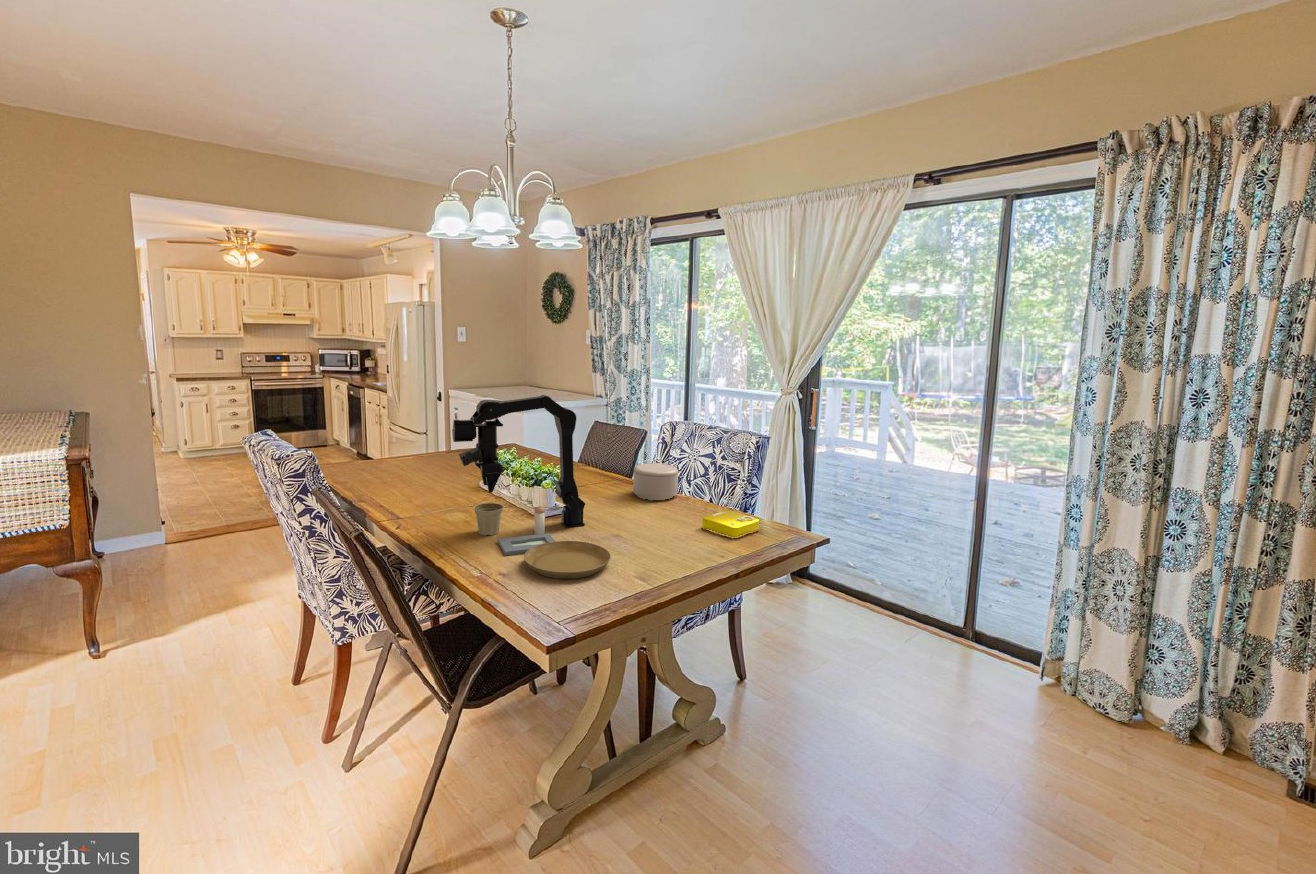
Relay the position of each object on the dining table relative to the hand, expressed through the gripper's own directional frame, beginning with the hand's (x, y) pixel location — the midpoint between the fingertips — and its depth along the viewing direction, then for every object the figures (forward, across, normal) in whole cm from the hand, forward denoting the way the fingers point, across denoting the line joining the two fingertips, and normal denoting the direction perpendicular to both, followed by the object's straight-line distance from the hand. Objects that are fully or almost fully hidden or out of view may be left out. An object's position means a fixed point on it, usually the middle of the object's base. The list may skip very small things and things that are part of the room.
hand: (488, 488), depth 197 cm
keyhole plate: (+15, +16, +9) cm, 23 cm away
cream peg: (+15, +6, +15) cm, 22 cm away
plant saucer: (+15, +35, +16) cm, 41 cm away
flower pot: (+15, 0, 0) cm, 15 cm away
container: (+15, -25, +70) cm, 76 cm away
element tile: (+15, +22, +77) cm, 82 cm away
